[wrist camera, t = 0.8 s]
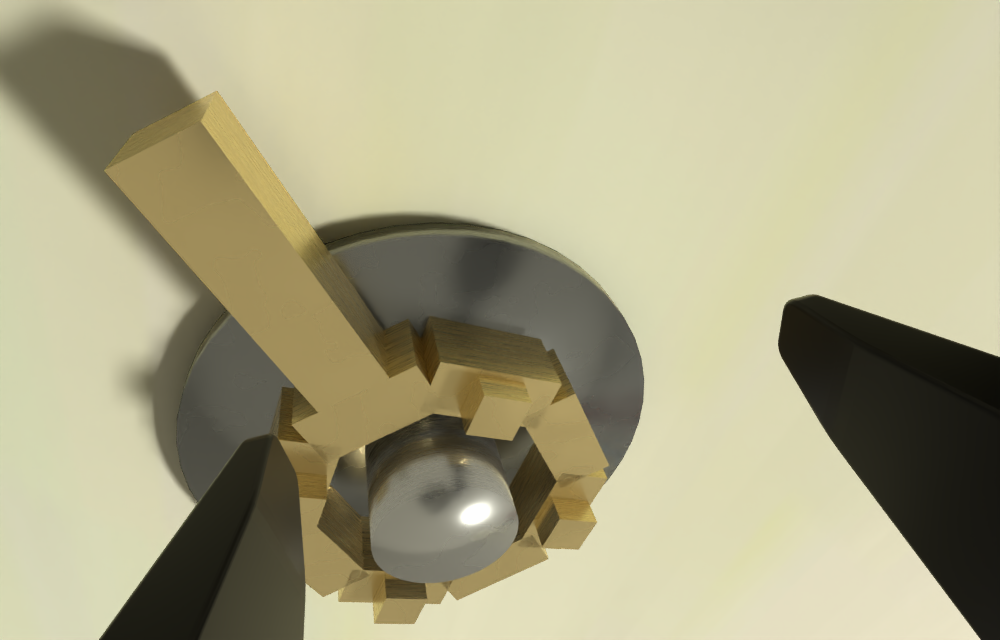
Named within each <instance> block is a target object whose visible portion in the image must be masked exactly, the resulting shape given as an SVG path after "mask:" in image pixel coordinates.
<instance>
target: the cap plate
mask: <svg viewBox="0 0 1000 640" xmlns="http://www.w3.org/2000/svg"><path fill="white" fill-rule="evenodd" d="M324 245H325V247H326V248H327V250H328V251H329V252H330V254H331V255H332V257H333V258H334V260H335V261H336V262H337V264H338V265H339V267H340V268H341V270H342V271H343V273H344V274H345V275H346V277H347V278H348V280H349V281H350V283H351V284H352V286H353V287H354V288H355V290H356V291H357V293H358V294H359V296H360V297H361V298H362V300H363V301H364V303H365V304H366V306H367V307H368V309H369V310H370V311H371V313H372V314H373V316H374V317H375V319H376V320H377V322H378V323H379V324H380V326H381V327H382V329H383V330H385V329H387V328H389V327H391V326H394V325H396V324H398V323H400V322H402V321H404V320H406V319H409V321H410V322H411V324H412V325H413V327H414V329H415V330H416V332H417V333H418V335H419V336H420V338H421V336H422V334H423V331H424V329H425V326H426V324H427V321H428V319H429V316H434V317H438V318H443V319H448V320H452V321H457V322H462V323H467V324H471V325H476V326H481V327H486V328H490V329H495V330H500V331H505V332H509V333H514V334H519V335H524V336H528V337H533V338H538V339H541V341H542V343H543V345H544V347H545V349H546V351H549V350H551V349H554V351H555V353H556V355H557V357H558V359H559V361H560V363H561V365H562V367H563V369H564V371H565V373H566V375H567V377H568V379H569V381H570V383H571V386H572V388H573V390H574V392H575V394H576V396H577V398H578V400H579V402H580V404H581V407H582V409H583V411H584V413H585V415H586V417H587V419H588V421H589V424H590V426H591V428H592V430H593V432H594V434H595V436H596V438H597V440H598V443H599V445H600V447H601V449H602V451H603V453H604V455H605V457H606V460H607V462H608V464H609V466H607V467H605V468H603V470H604V472H605V474H606V476H607V478H608V479H609V478H610V476H611V475H612V474H613V472H614V471H615V469H616V468H617V466H618V465H619V463H620V462H621V461H622V459H623V457H624V455H625V453H626V451H627V449H628V447H629V445H630V444H631V442H632V439H633V436H634V434H635V431H636V428H637V425H638V423H639V419H640V414H641V409H642V404H643V394H644V375H643V367H642V360H641V356H640V353H639V350H638V347H637V343H636V340H635V337H634V335H633V334H632V332H631V330H630V328H629V326H628V324H627V322H626V320H625V319H624V317H623V315H622V314H621V312H620V311H619V310H618V308H617V307H616V305H615V304H614V302H613V301H612V300H611V298H610V297H609V296H608V295H607V293H606V292H605V291H604V290H603V288H602V287H601V286H600V284H599V283H597V282H596V281H595V280H594V279H593V278H592V277H591V276H590V275H589V274H588V273H586V272H585V271H584V270H583V269H582V268H581V267H580V266H578V265H577V264H575V263H574V262H572V261H571V260H569V259H568V258H566V257H565V256H563V255H561V254H560V253H558V252H557V251H555V250H553V249H550V248H548V247H546V246H544V245H542V244H540V243H537V242H535V241H533V240H531V239H528V238H525V237H521V236H518V235H515V234H512V233H508V232H505V231H502V230H497V229H491V228H485V227H479V226H473V225H467V224H445V223H424V224H412V225H399V226H392V227H387V228H382V229H377V230H372V231H367V232H361V233H357V234H354V235H351V236H348V237H345V238H342V239H339V240H336V241H333V242H330V243H327V244H324ZM282 387H288V388H294V385H293V384H292V382H291V381H290V380H289V379H288V378H287V377H286V376H285V375H284V373H283V372H282V371H281V370H280V369H279V368H278V367H277V366H276V364H275V363H274V362H273V361H272V360H271V359H270V358H269V356H268V355H267V354H266V353H265V352H264V351H263V350H262V349H261V347H260V346H259V345H258V344H257V343H256V342H255V341H254V340H253V338H252V337H251V336H250V335H249V334H248V333H247V332H246V331H245V329H244V328H243V327H242V326H241V325H240V324H239V323H238V321H237V320H236V319H235V318H234V317H233V316H232V315H231V314H230V312H229V311H228V310H226V312H225V313H224V314H223V315H222V316H221V317H220V318H219V319H218V321H217V322H216V323H215V324H214V326H213V327H212V329H211V330H210V332H209V333H208V335H207V337H206V338H205V340H204V341H203V343H202V344H201V346H200V347H199V349H198V352H197V354H196V356H195V359H194V361H193V363H192V366H191V368H190V371H189V373H188V376H187V380H186V383H185V387H184V390H183V394H182V398H181V403H180V408H179V412H178V417H177V448H178V454H179V459H180V465H181V469H182V471H183V474H184V476H185V479H186V481H187V484H188V486H189V489H190V490H191V492H192V494H193V495H194V497H195V498H196V500H197V502H199V501H200V499H201V498H202V496H203V495H204V494H205V492H206V491H207V490H208V488H209V487H210V485H211V484H212V483H213V481H214V480H215V478H216V477H217V476H218V474H219V473H220V472H221V470H222V469H223V467H224V466H225V465H226V463H227V462H228V460H229V459H230V458H231V456H232V455H233V454H234V452H235V451H236V449H237V448H238V447H239V445H240V444H241V443H242V442H243V441H244V440H246V439H249V438H253V437H257V436H260V435H264V434H269V432H270V428H271V425H272V421H273V418H274V414H275V410H276V407H277V403H278V400H279V396H280V393H281V389H282ZM533 443H534V441H533V439H532V438H531V436H530V434H529V432H528V431H527V429H526V427H522V426H520V427H519V429H518V431H517V433H516V435H515V436H514V438H513V440H512V441H509V440H502V439H495V438H487V437H480V436H473V435H466V434H465V430H464V426H463V422H462V418H461V417H454V416H447V415H441V414H434V413H433V414H431V415H429V416H426V417H424V418H422V419H420V420H418V421H416V422H414V423H412V424H410V425H407V426H405V427H403V428H401V429H399V430H397V431H395V432H393V433H390V434H388V435H386V436H384V437H382V438H380V439H378V440H376V441H373V442H371V443H369V444H367V445H365V446H363V447H361V448H359V449H357V450H354V451H352V452H350V453H348V454H346V455H344V456H342V457H340V458H339V460H338V463H337V466H336V469H335V471H334V474H333V477H332V480H331V483H330V485H331V486H332V487H333V488H334V489H335V490H336V491H337V492H338V493H339V494H340V495H341V496H342V497H343V498H344V499H345V500H346V501H347V502H348V503H349V504H350V505H351V506H352V507H353V508H354V509H355V511H356V512H357V513H358V514H359V515H360V516H364V517H369V524H370V539H371V551H372V555H373V558H374V560H375V562H376V563H377V565H378V566H379V567H380V568H381V569H382V570H383V571H385V572H386V573H387V574H389V575H391V576H393V577H395V578H398V579H401V580H405V581H409V582H416V583H438V582H446V581H451V580H455V579H459V578H463V577H465V576H468V575H471V574H473V573H476V572H478V571H480V570H482V569H484V568H485V567H487V566H489V565H490V564H492V563H493V562H495V561H496V560H497V559H498V558H500V557H501V556H502V555H503V554H504V553H505V552H506V551H507V550H508V548H509V547H510V546H511V544H512V543H513V541H514V539H515V537H516V535H517V531H518V524H519V521H518V515H517V512H516V509H515V505H514V502H513V499H512V495H511V492H510V489H509V486H510V484H511V482H512V480H513V479H514V477H515V475H516V473H517V471H518V470H519V468H520V466H521V464H522V462H523V461H524V459H525V457H526V455H527V454H528V452H529V450H530V448H531V446H532V445H533ZM608 479H607V480H608ZM607 480H606V481H607ZM605 483H606V482H605ZM605 483H604V484H605Z"/></svg>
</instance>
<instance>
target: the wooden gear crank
mask: <svg viewBox="0 0 1000 640" xmlns="http://www.w3.org/2000/svg"><path fill="white" fill-rule="evenodd" d="M104 171H105V172H106V174H107V175H108V176H109V177H110V178H111V179H112V180H113V181H114V183H115V184H116V185H117V186H118V187H119V188H120V189H121V191H122V192H123V193H124V194H125V195H126V196H127V197H128V198H129V200H130V201H131V202H132V203H133V204H134V205H135V206H136V207H137V209H138V210H139V211H140V212H141V213H142V214H143V215H144V216H145V218H146V219H147V220H148V221H149V222H150V223H151V224H152V226H153V227H154V228H155V229H156V230H157V231H158V232H159V233H160V235H161V236H162V237H163V238H164V239H165V240H166V241H167V242H168V244H169V245H170V246H171V247H172V248H173V249H174V250H175V251H176V253H177V254H178V255H179V256H180V257H181V258H182V259H183V261H184V262H185V263H186V264H187V265H188V266H189V267H190V268H191V270H192V271H193V272H194V273H195V274H196V275H197V276H198V277H199V279H200V280H201V281H202V282H203V283H204V284H205V285H206V286H207V288H208V289H209V290H210V291H211V292H212V293H213V294H214V296H215V297H216V298H217V299H218V300H219V301H220V302H221V303H222V305H223V306H224V307H225V308H226V309H227V310H228V311H229V312H230V314H231V315H232V316H233V317H234V318H235V319H236V320H237V321H238V323H239V324H240V325H241V326H242V327H243V328H244V329H245V331H246V332H247V333H248V334H249V335H250V336H251V337H252V338H253V340H254V341H255V342H256V343H257V344H258V345H259V346H260V347H261V349H262V350H263V351H264V352H265V353H266V354H267V355H268V356H269V358H270V359H271V360H272V361H273V362H274V363H275V364H276V366H277V367H278V368H279V369H280V370H281V371H282V372H283V373H284V375H285V376H286V377H287V378H288V379H289V380H290V381H291V382H292V384H293V385H294V388H288V387H282V389H281V393H280V396H279V400H278V403H277V407H276V410H275V414H274V418H273V421H272V425H271V428H270V432H269V433H270V434H274V435H275V436H276V437H277V438H278V439H279V441H280V443H281V445H282V447H283V449H284V451H285V453H286V454H287V456H288V458H289V460H290V462H291V464H292V466H293V468H294V470H295V472H296V475H297V479H298V486H299V498H300V512H301V526H302V539H303V553H304V566H305V583H306V584H308V585H309V586H310V587H311V588H313V589H314V590H315V591H316V592H317V593H319V594H320V595H321V596H322V597H324V596H326V595H329V594H331V593H333V592H335V591H337V590H338V602H373V611H374V624H414V623H415V622H416V620H417V618H418V616H419V614H420V612H421V610H422V608H423V607H424V605H425V604H440V603H441V601H442V600H443V598H444V596H445V594H446V592H447V591H449V592H450V593H451V594H452V595H453V596H454V597H455V599H456V600H459V599H461V598H463V597H465V596H468V595H470V594H472V593H474V592H476V591H479V590H481V589H483V588H485V587H487V586H490V585H492V584H494V583H496V582H498V581H501V580H503V579H505V578H507V577H510V576H512V575H514V574H516V573H518V572H521V571H523V570H525V569H527V568H529V567H532V566H534V565H536V564H538V563H540V562H543V561H545V560H547V559H548V556H547V553H546V550H545V548H552V549H561V548H562V549H579V548H580V546H581V545H582V544H583V542H584V541H585V539H586V538H587V536H588V535H589V533H590V532H591V530H592V529H593V527H594V526H595V524H596V523H597V521H596V519H595V517H594V514H593V512H592V509H591V507H590V504H591V503H592V501H593V500H594V498H595V497H596V495H597V494H598V492H599V491H600V489H601V488H602V486H603V485H604V483H605V482H606V480H607V479H608V478H607V476H606V474H605V472H604V470H603V468H605V467H607V466H609V464H608V462H607V460H606V457H605V455H604V453H603V451H602V449H601V447H600V445H599V443H598V440H597V438H596V436H595V434H594V432H593V430H592V428H591V426H590V424H589V421H588V419H587V417H586V415H585V413H584V411H583V409H582V407H581V404H580V402H579V400H578V398H577V396H576V394H575V392H574V390H573V388H572V386H571V383H570V381H569V379H568V377H567V375H566V373H565V371H564V369H563V367H562V365H561V363H560V361H559V359H558V357H557V355H556V353H555V351H554V349H551V350H549V351H546V349H545V347H544V345H543V343H542V341H541V339H538V338H533V337H528V336H524V335H519V334H514V333H509V332H505V331H500V330H495V329H490V328H486V327H481V326H476V325H471V324H467V323H462V322H457V321H452V320H448V319H443V318H438V317H434V316H429V319H428V321H427V324H426V326H425V329H424V331H423V334H422V336H421V338H420V336H419V335H418V333H417V332H416V330H415V329H414V327H413V325H412V324H411V322H410V321H409V319H406V320H404V321H402V322H400V323H398V324H396V325H394V326H391V327H389V328H387V329H385V330H383V329H382V327H381V326H380V324H379V323H378V322H377V320H376V319H375V317H374V316H373V314H372V313H371V311H370V310H369V309H368V307H367V306H366V304H365V303H364V301H363V300H362V298H361V297H360V296H359V294H358V293H357V291H356V290H355V288H354V287H353V286H352V284H351V283H350V281H349V280H348V278H347V277H346V275H345V274H344V273H343V271H342V270H341V268H340V267H339V265H338V264H337V262H336V261H335V260H334V258H333V257H332V255H331V254H330V252H329V251H328V250H327V248H326V247H325V245H324V244H323V242H322V241H321V239H320V238H319V237H318V235H317V234H316V232H315V231H314V229H313V228H312V226H311V225H310V224H309V222H308V221H307V219H306V218H305V216H304V215H303V214H302V212H301V211H300V209H299V208H298V206H297V205H296V203H295V202H294V201H293V199H292V198H291V196H290V195H289V193H288V192H287V191H286V189H285V188H284V186H283V185H282V183H281V182H280V180H279V179H278V178H277V176H276V175H275V173H274V172H273V170H272V169H271V167H270V166H269V165H268V163H267V162H266V160H265V159H264V157H263V156H262V155H261V153H260V152H259V150H258V149H257V147H256V146H255V144H254V143H253V142H252V140H251V139H250V137H249V136H248V134H247V133H246V131H245V130H244V129H243V127H242V126H241V124H240V123H239V121H238V120H237V119H236V117H235V116H234V114H233V113H232V111H231V110H230V108H229V107H228V106H227V104H226V103H225V101H224V100H223V98H222V97H221V95H220V94H219V93H218V91H215V92H213V93H211V94H210V95H208V96H206V97H204V98H202V99H200V100H198V101H196V102H194V103H192V104H190V105H188V106H186V107H184V108H182V109H180V110H178V111H176V112H174V113H172V114H170V115H169V116H167V117H165V118H163V119H161V120H159V121H157V122H155V123H153V124H151V125H149V126H147V127H145V128H143V129H141V130H139V131H137V132H135V133H133V134H132V135H131V137H130V138H129V139H128V141H127V142H126V143H125V144H124V146H123V147H122V148H121V150H120V151H119V152H118V153H117V155H116V156H115V157H114V158H113V160H112V161H111V162H110V164H109V165H108V166H107V167H106V169H105V170H104ZM433 413H434V414H441V415H447V416H454V417H461V418H462V422H463V426H464V430H465V434H466V435H473V436H480V437H487V438H495V439H502V440H509V441H512V440H513V438H514V436H515V435H516V433H517V431H518V429H519V427H520V426H522V427H526V429H527V431H528V432H529V434H530V436H531V438H532V439H533V441H534V443H533V445H532V446H531V448H530V450H529V452H528V454H527V455H526V457H525V459H524V461H523V462H522V464H521V466H520V468H519V470H518V471H517V473H516V475H515V477H514V479H513V480H512V482H511V484H510V486H509V489H510V492H511V495H512V499H513V502H514V505H515V509H516V512H517V515H518V521H519V524H518V531H517V535H516V537H515V539H514V541H513V543H512V544H511V546H510V547H509V548H508V550H507V551H506V552H505V553H504V554H503V555H502V556H501V557H500V558H498V559H497V560H496V561H495V562H493V563H492V564H490V565H489V566H487V567H485V568H484V569H482V570H480V571H478V572H476V573H473V574H471V575H468V576H465V577H463V578H459V579H455V580H451V581H446V582H438V583H416V582H409V581H405V580H401V579H398V578H395V577H393V576H391V575H389V574H387V573H386V572H385V571H383V570H382V569H381V568H380V567H379V566H378V565H377V563H376V562H375V560H374V558H373V555H372V551H371V539H370V524H369V517H364V516H360V515H359V514H358V513H357V512H356V511H355V509H354V508H353V507H352V506H351V505H350V504H349V503H348V502H347V501H346V500H345V499H344V498H343V497H342V496H341V495H340V494H339V493H338V492H337V491H336V490H335V489H334V488H333V487H332V486H331V485H330V483H331V480H332V477H333V474H334V471H335V469H336V466H337V463H338V460H339V458H340V457H342V456H344V455H346V454H348V453H350V452H352V451H354V450H357V449H359V448H361V447H363V446H365V445H367V444H369V443H371V442H373V441H376V440H378V439H380V438H382V437H384V436H386V435H388V434H390V433H393V432H395V431H397V430H399V429H401V428H403V427H405V426H407V425H410V424H412V423H414V422H416V421H418V420H420V419H422V418H424V417H426V416H429V415H431V414H433Z"/></svg>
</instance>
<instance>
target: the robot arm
mask: <svg viewBox="0 0 1000 640" xmlns="http://www.w3.org/2000/svg"><path fill="white" fill-rule="evenodd" d="M778 347H779V352H780V354H781V357H782V359H783V361H784V362H785V364H786V366H787V367H788V369H789V371H790V372H791V374H792V376H793V377H794V379H795V381H796V383H797V384H798V386H799V388H800V389H801V391H802V393H803V394H804V396H805V398H806V399H807V401H808V403H809V404H810V406H811V408H812V410H813V411H814V413H815V415H816V416H817V418H818V420H819V421H820V423H821V425H822V426H823V428H824V429H825V431H826V433H827V434H828V436H829V437H830V439H831V440H832V442H833V443H834V444H835V446H836V447H837V449H838V450H839V451H840V453H841V454H842V455H843V457H844V458H845V459H846V461H847V462H848V463H849V465H850V466H851V467H852V469H853V470H854V471H855V473H856V474H857V475H858V477H859V478H860V479H861V481H862V482H863V483H864V485H865V486H866V487H867V489H868V490H869V491H870V493H871V494H872V495H873V497H874V498H875V499H876V501H877V502H878V503H879V505H880V506H881V507H882V509H883V510H884V511H885V513H886V514H887V515H888V517H889V518H890V519H891V521H892V522H893V523H894V525H895V526H896V527H897V529H898V530H899V531H900V533H901V534H902V535H903V537H904V538H905V539H906V541H907V542H908V543H909V545H910V546H911V547H912V549H913V550H914V551H915V553H916V554H917V555H918V557H919V558H920V559H921V561H922V562H923V563H924V565H925V566H926V567H927V569H928V570H929V571H930V573H931V574H932V575H933V577H934V578H935V579H936V581H937V582H938V583H939V585H940V586H941V587H942V589H943V590H944V591H945V593H946V594H947V595H948V597H949V598H950V599H951V601H952V602H953V603H954V605H955V606H956V607H957V609H958V610H959V611H960V613H961V614H962V615H963V617H964V618H965V619H966V621H967V622H968V623H969V625H970V626H971V627H972V629H973V630H974V631H975V633H976V634H977V635H978V637H979V638H980V639H981V640H1000V357H998V356H995V355H992V354H989V353H986V352H983V351H980V350H977V349H975V348H972V347H969V346H966V345H963V344H960V343H957V342H954V341H951V340H948V339H945V338H942V337H939V336H936V335H933V334H931V333H928V332H925V331H922V330H919V329H916V328H913V327H910V326H907V325H904V324H901V323H898V322H895V321H892V320H889V319H886V318H884V317H881V316H878V315H875V314H872V313H869V312H866V311H863V310H860V309H857V308H854V307H851V306H848V305H845V304H842V303H839V302H837V301H834V300H831V299H828V298H825V297H822V296H819V295H814V294H812V295H806V296H803V297H799V298H795V299H791V300H789V301H788V302H787V303H786V304H785V306H784V309H783V315H782V321H781V327H780V333H779V340H778ZM304 616H305V566H304V553H303V539H302V526H301V512H300V498H299V486H298V479H297V475H296V472H295V470H294V468H293V466H292V464H291V462H290V460H289V458H288V456H287V454H286V453H285V451H284V449H283V447H282V445H281V443H280V441H279V439H278V438H277V437H276V436H275V435H274V434H270V433H269V434H264V435H260V436H257V437H253V438H249V439H246V440H244V441H243V442H242V443H241V444H240V445H239V447H238V448H237V449H236V451H235V452H234V454H233V455H232V456H231V458H230V459H229V460H228V462H227V463H226V465H225V466H224V467H223V469H222V470H221V472H220V473H219V474H218V476H217V477H216V478H215V480H214V481H213V483H212V484H211V485H210V487H209V488H208V490H207V491H206V492H205V494H204V495H203V496H202V498H201V499H200V501H199V502H198V503H197V505H196V506H195V508H194V509H193V510H192V512H191V513H190V514H189V516H188V517H187V519H186V520H185V521H184V523H183V524H182V526H181V527H180V528H179V530H178V531H177V532H176V534H175V535H174V537H173V538H172V539H171V541H170V542H169V543H168V545H167V546H166V548H165V549H164V550H163V552H162V553H161V555H160V556H159V557H158V559H157V560H156V561H155V563H154V564H153V566H152V567H151V568H150V570H149V571H148V573H147V574H146V575H145V577H144V578H143V579H142V581H141V582H140V584H139V585H138V586H137V588H136V589H135V591H134V592H133V593H132V595H131V596H130V597H129V599H128V600H127V602H126V603H125V604H124V606H123V607H122V609H121V610H120V611H119V613H118V614H117V615H116V617H115V618H114V620H113V621H112V622H111V624H110V625H109V627H108V628H107V629H106V631H105V632H104V633H103V635H102V636H101V638H100V639H99V640H303V637H304Z"/></svg>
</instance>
